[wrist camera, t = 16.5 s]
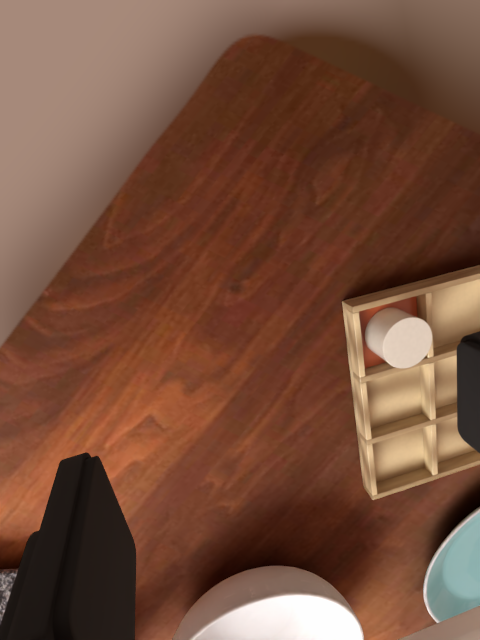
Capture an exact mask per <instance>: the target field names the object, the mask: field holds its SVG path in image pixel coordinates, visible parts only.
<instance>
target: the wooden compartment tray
mask: <svg viewBox="0 0 480 640" xmlns="http://www.w3.org/2000/svg"><path fill="white" fill-rule="evenodd" d="M342 306H343V314H344V323H345V332H346V340H347V349H348V358H349V366H350V375H351V384H352V393H353V401H354V410H355V419H356V427H357V436H358V445H359V453H360V462H361V471H362V480H363V487H364V489H365V490H366V491H367V493H368V494H369V495H370V497H371V498H372V500H375V499H378V498H381V497H384V496H387V495H390V494H393V493H396V492H399V491H402V490H405V489H408V488H411V487H414V486H417V485H420V484H423V483H426V482H429V481H432V480H435V479H438V478H441V477H444V476H447V475H450V474H452V473H455V472H458V471H461V470H464V469H467V468H470V467H473V466H476V465H479V464H480V453H479V452H477V451H476V450H475V449H474V448H472V447H471V446H470V445H469V444H467V443H466V442H465V441H464V440H463V439H462V438H461V436H460V434H459V432H458V428H457V346H458V344H460V341H461V339H462V338H463V337H464V336H466V335H469V334H473V333H476V332H479V331H480V265H477V266H474V267H470V268H466V269H462V270H458V271H455V272H451V273H447V274H443V275H439V276H436V277H432V278H428V279H424V280H420V281H417V282H413V283H409V284H405V285H401V286H397V287H394V288H390V289H386V290H382V291H378V292H375V293H371V294H367V295H363V296H359V297H356V298H352V299H348V300H344V301H342ZM391 307H394V308H399V309H402V310H404V311H406V312H408V313H410V314H412V315H414V316H416V317H418V318H421V319H423V320H424V321H425V322H427V324H428V325H429V327H430V329H431V331H432V344H431V347H430V350H429V351H428V353H427V355H426V356H425V357H424V358H423V359H422V360H421V361H420V362H419V363H418V364H416V365H414V366H412V367H409V368H396V367H393V366H391V365H390V364H388V363H387V362H386V361H384V360H383V359H381V358H380V357H379V356H377V355H376V354H375V353H373V352H372V351H371V350H370V349H369V348H368V346H367V344H366V342H365V330H366V327H367V324H368V322H369V321H370V319H371V318H372V317H373V316H374V315H375V314H376V313H377V312H379V311H381V310H383V309H385V308H391Z"/></svg>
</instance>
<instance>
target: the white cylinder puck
mask: <svg viewBox="0 0 480 640" xmlns="http://www.w3.org/2000/svg"><path fill="white" fill-rule="evenodd" d="M365 342H366V344H367V346H368V348H369V349H370V350H371V351H372V352H373V353H375V354H376V355H377V356H379V357H380V358H381V359H383V360H384V361H386V362H387V363H388V364H390V365H391V366H393V367H396V368H409V367H412V366H414V365H416V364H418V363H419V362H420V361H421V360H422V359H423V358H424V357H425V356H426V355H427V353H428V351H429V350H430V347H431V344H432V331H431V329H430V327H429V325H428V324H427V322H425V321H424V320H423V319H421V318H418V317H416V316H414V315H412V314H410V313H408V312H406V311H404V310H402V309H399V308H394V307H391V308H385V309H383V310H381V311H379V312H377V313H376V314H375V315H374V316H373V317H372V318H371V319H370V321H369V322H368V324H367V327H366V330H365Z"/></svg>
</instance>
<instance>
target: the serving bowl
mask: <svg viewBox="0 0 480 640" xmlns="http://www.w3.org/2000/svg"><path fill="white" fill-rule="evenodd" d="M172 640H364V635H363V630H362V627H361V624H360V622H359V620H358V618H357V616H356V615H355V613H354V612H353V610H352V608H351V607H350V605H349V604H348V602H347V601H346V600H345V599H344V597H343V596H342V595H341V594H340V593H339V592H338V591H337V590H336V589H335V588H334V587H333V586H332V585H331V584H330V583H328V582H327V581H326V580H324V579H323V578H321V577H319V576H317V575H315V574H314V573H311V572H309V571H306V570H303V569H299V568H296V567H289V566H265V567H259V568H254V569H250V570H246V571H243V572H241V573H238V574H236V575H233V576H231V577H229V578H227V579H225V580H223V581H222V582H220V583H218V584H217V585H215V586H214V587H212V588H211V589H210V590H209V591H207V592H206V593H205V594H204V595H203V596H202V597H200V598H199V599H198V600H197V601H196V603H195V604H194V605H193V606H192V607H191V608H190V609H189V611H188V612H187V613H186V615H185V616H184V618H183V619H182V621H181V623H180V624H179V626H178V628H177V630H176V632H175V634H174V636H173V639H172Z"/></svg>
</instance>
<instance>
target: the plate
mask: <svg viewBox="0 0 480 640" xmlns="http://www.w3.org/2000/svg"><path fill="white" fill-rule="evenodd" d="M423 595H424V601H425V605H426V608H427V610H428V612H429V614H430V615H431V617H432V618H433V619H434V620H435V621H436V622H437V623H439V622H442V621H444V620H446V619H449V618H451V617H454V616H456V615H458V614H461V613H463V612H466V611H468V610H470V609H473V608H475V607H478V606H480V507H478V508H477V509H475V510H474V511H473V512H472V513H470V514H469V515H468V516H467V517H466V518H464V519H463V520H462V521H461V522H460V523H459V524H458V525H457V526H456V527H455V528H454V529H453V530H452V531H451V532H450V534H449V535H448V536H447V537H446V538H445V540H444V541H443V542H442V543H441V545H440V546H439V548H438V549H437V551H436V552H435V554H434V556H433V558H432V559H431V561H430V564H429V566H428V569H427V571H426V575H425V579H424V586H423Z"/></svg>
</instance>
